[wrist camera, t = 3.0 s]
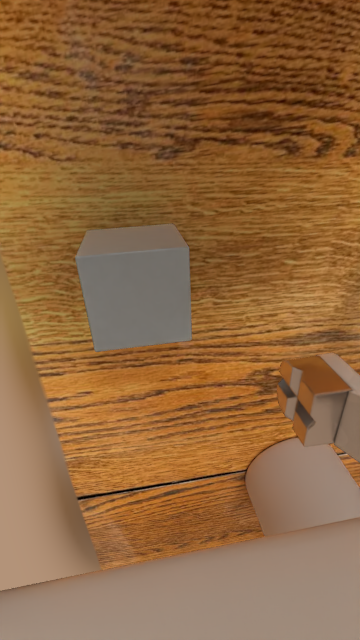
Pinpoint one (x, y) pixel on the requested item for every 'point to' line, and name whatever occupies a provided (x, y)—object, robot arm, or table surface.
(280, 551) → the robot arm
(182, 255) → the block
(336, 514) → the mug
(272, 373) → the table surface
